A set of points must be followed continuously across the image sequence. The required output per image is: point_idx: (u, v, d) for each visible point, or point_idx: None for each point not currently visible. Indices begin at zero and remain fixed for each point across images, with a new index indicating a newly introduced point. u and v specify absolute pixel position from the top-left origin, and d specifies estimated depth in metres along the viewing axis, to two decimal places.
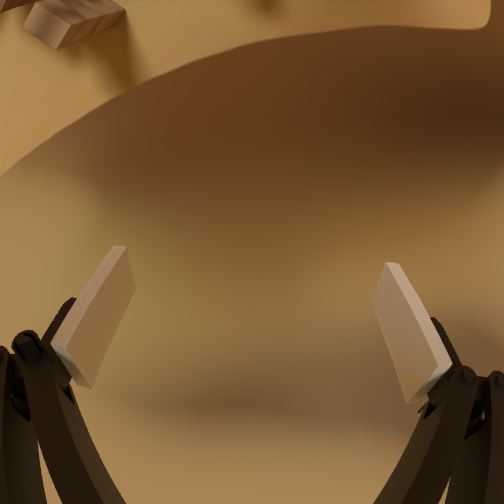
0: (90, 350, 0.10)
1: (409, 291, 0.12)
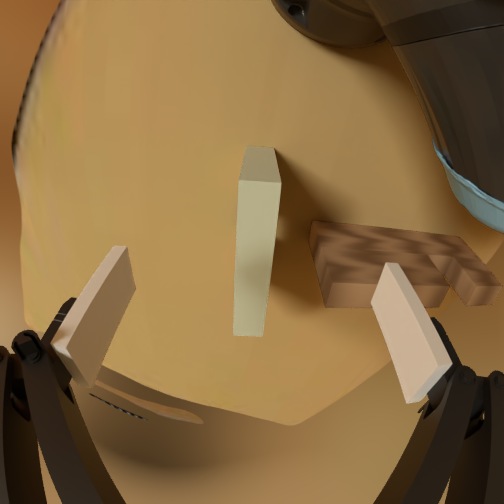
0: (90, 350, 0.10)
1: (409, 291, 0.12)
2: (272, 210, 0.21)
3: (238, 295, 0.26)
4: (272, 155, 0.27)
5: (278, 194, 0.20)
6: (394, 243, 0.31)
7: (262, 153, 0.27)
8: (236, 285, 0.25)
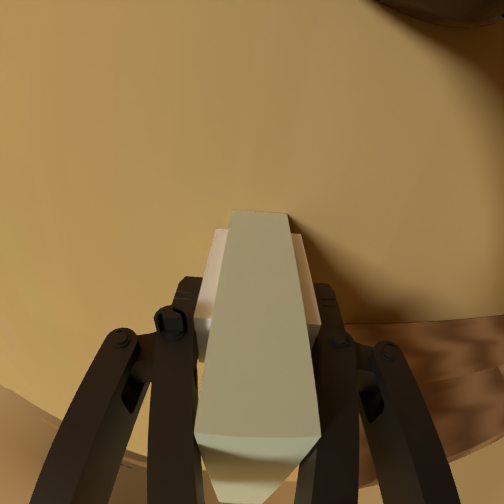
0: None
1: (299, 257, 0.13)
2: (288, 460, 0.07)
3: (222, 493, 0.11)
4: (287, 250, 0.13)
5: (307, 447, 0.06)
6: (460, 354, 0.17)
7: (264, 242, 0.13)
8: (217, 490, 0.11)
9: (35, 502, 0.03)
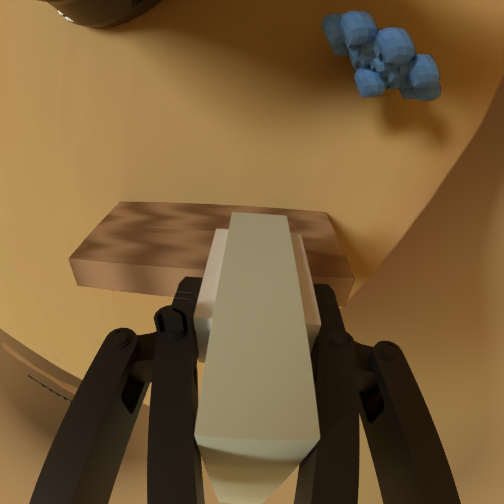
0: None
1: (299, 257, 0.13)
2: (288, 461, 0.07)
3: (222, 493, 0.11)
4: (287, 252, 0.13)
5: (307, 449, 0.06)
6: (191, 219, 0.28)
7: (264, 244, 0.13)
8: (217, 490, 0.11)
9: (35, 502, 0.03)
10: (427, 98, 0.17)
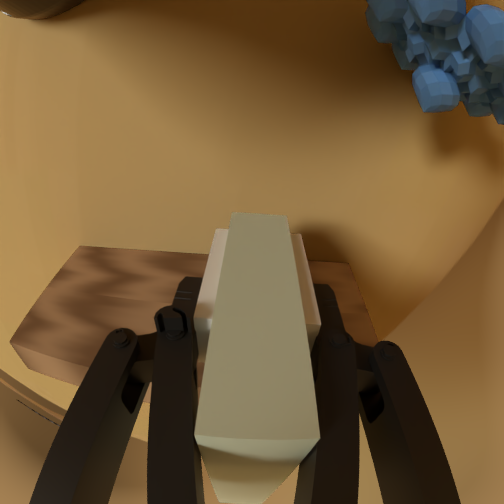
0: None
1: (300, 257, 0.13)
2: (288, 461, 0.07)
3: (222, 493, 0.11)
4: (286, 252, 0.13)
5: (307, 449, 0.06)
6: (165, 282, 0.20)
7: (264, 244, 0.13)
8: (217, 490, 0.11)
9: (35, 502, 0.03)
10: None
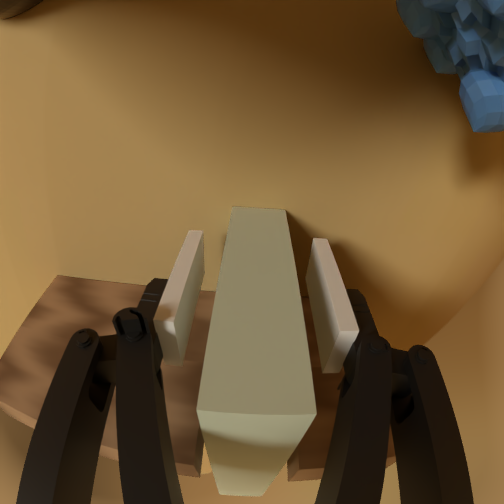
0: (183, 327, 0.11)
1: (329, 263, 0.13)
2: (286, 441, 0.07)
3: (222, 483, 0.12)
4: (285, 243, 0.13)
5: (304, 427, 0.07)
6: None
7: (264, 236, 0.14)
8: (218, 479, 0.11)
9: None
10: None
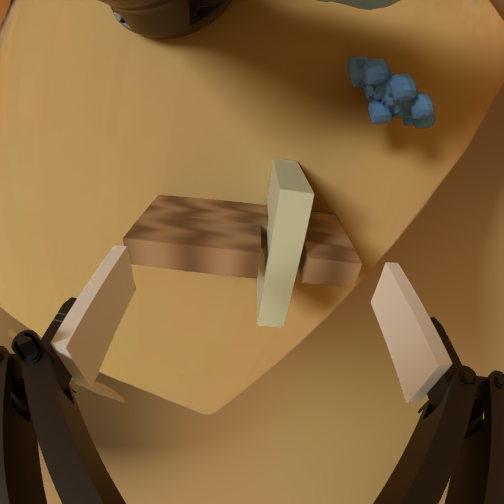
0: (90, 350, 0.10)
1: (409, 291, 0.12)
2: (305, 216, 0.25)
3: (267, 288, 0.29)
4: (298, 168, 0.31)
5: (311, 203, 0.24)
6: (227, 213, 0.34)
7: (289, 166, 0.32)
8: (266, 279, 0.29)
9: None
10: (423, 126, 0.24)
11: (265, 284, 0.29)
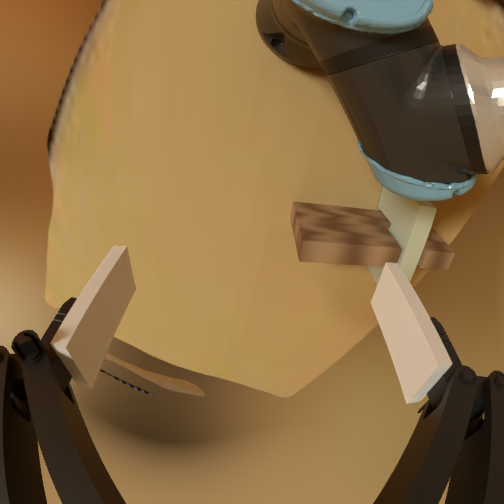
0: (90, 350, 0.10)
1: (409, 291, 0.12)
2: (430, 222, 0.32)
3: None
4: None
5: (434, 214, 0.32)
6: (358, 218, 0.41)
7: None
8: None
9: None
10: None
11: None
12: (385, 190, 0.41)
